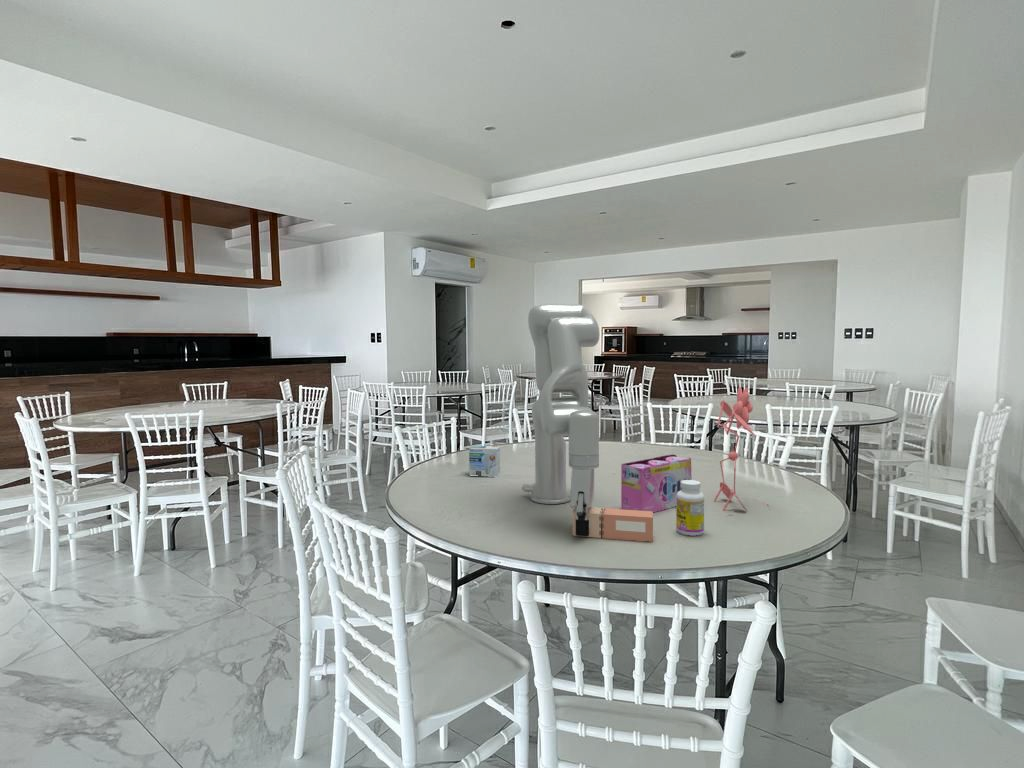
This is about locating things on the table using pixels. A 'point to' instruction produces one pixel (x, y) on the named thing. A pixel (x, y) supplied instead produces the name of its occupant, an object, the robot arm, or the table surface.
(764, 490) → the table surface
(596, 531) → the beige boxy piece
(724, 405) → the figurine
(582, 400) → the robot arm
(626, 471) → the gum box
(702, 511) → the supplement bottle
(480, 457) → the light bulb box
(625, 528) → the cardboard box
